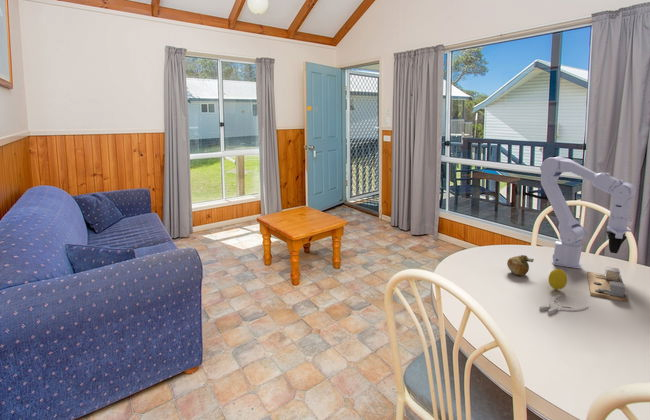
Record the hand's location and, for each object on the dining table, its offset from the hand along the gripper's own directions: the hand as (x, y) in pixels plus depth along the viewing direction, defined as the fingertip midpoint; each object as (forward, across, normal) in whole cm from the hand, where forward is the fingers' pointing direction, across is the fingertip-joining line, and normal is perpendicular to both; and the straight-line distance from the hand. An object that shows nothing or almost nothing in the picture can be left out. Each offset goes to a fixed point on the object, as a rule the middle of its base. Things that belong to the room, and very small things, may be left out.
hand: (613, 251), depth 147 cm
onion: (+10, -14, +30) cm, 35 cm away
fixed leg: (+8, -20, +1) cm, 22 cm away
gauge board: (+9, -12, +2) cm, 16 cm away
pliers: (+10, -37, +16) cm, 41 cm away
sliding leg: (+8, -7, +1) cm, 10 cm away
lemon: (+10, -24, +17) cm, 31 cm away
